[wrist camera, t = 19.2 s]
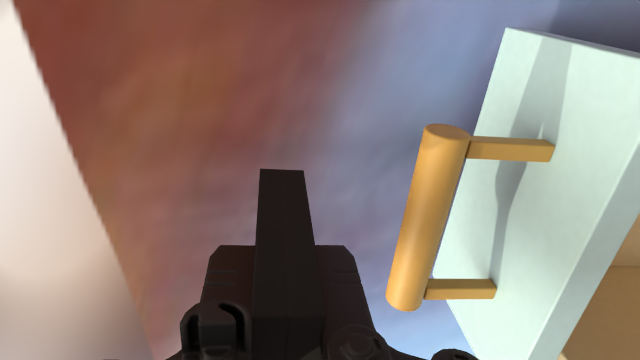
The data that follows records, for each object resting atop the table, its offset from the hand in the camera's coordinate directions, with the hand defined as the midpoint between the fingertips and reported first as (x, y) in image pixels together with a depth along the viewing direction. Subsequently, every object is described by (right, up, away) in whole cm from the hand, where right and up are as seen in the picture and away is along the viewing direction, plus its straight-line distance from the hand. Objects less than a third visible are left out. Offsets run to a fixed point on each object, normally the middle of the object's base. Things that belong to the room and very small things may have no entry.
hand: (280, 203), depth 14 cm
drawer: (+14, +1, +5) cm, 15 cm away
